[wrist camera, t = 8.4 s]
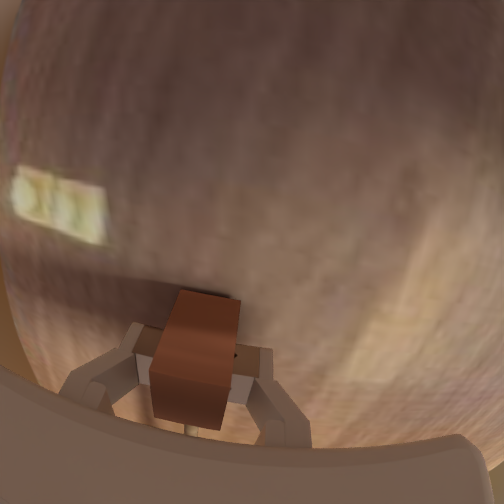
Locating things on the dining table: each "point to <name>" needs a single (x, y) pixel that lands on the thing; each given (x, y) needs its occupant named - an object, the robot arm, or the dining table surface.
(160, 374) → the brown block pusher rod
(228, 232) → the dining table surface
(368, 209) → the dining table surface
